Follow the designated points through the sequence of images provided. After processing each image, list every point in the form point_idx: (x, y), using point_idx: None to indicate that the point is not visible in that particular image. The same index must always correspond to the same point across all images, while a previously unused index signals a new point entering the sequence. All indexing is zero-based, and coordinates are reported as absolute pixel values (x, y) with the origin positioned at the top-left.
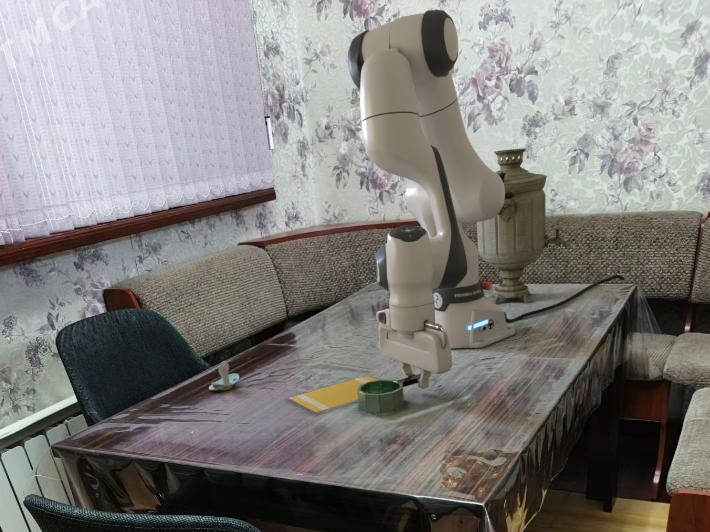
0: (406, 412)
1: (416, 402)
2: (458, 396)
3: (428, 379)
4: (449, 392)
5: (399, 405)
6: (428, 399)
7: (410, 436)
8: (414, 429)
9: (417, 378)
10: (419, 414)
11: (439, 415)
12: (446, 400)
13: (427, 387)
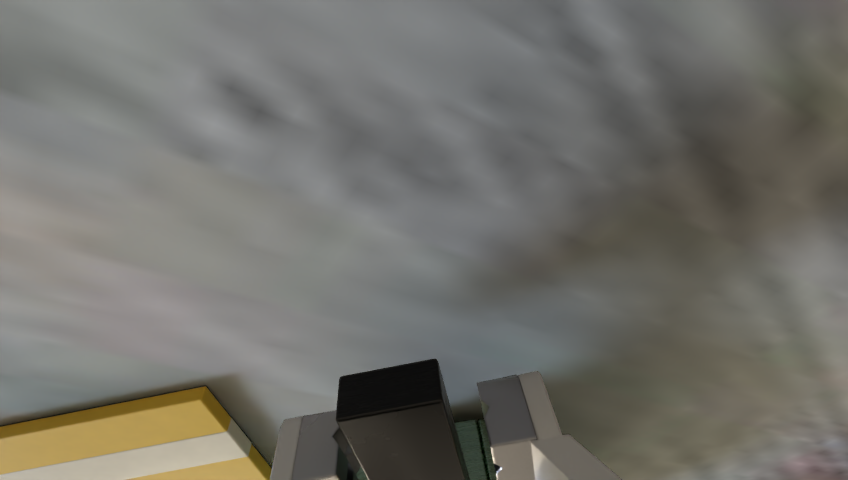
0: (600, 425)
1: (506, 361)
2: (639, 77)
3: (437, 363)
4: (482, 101)
5: None
6: (511, 295)
7: (828, 464)
8: (794, 443)
9: (464, 477)
10: (678, 393)
11: (790, 329)
12: (630, 206)
13: (539, 374)
